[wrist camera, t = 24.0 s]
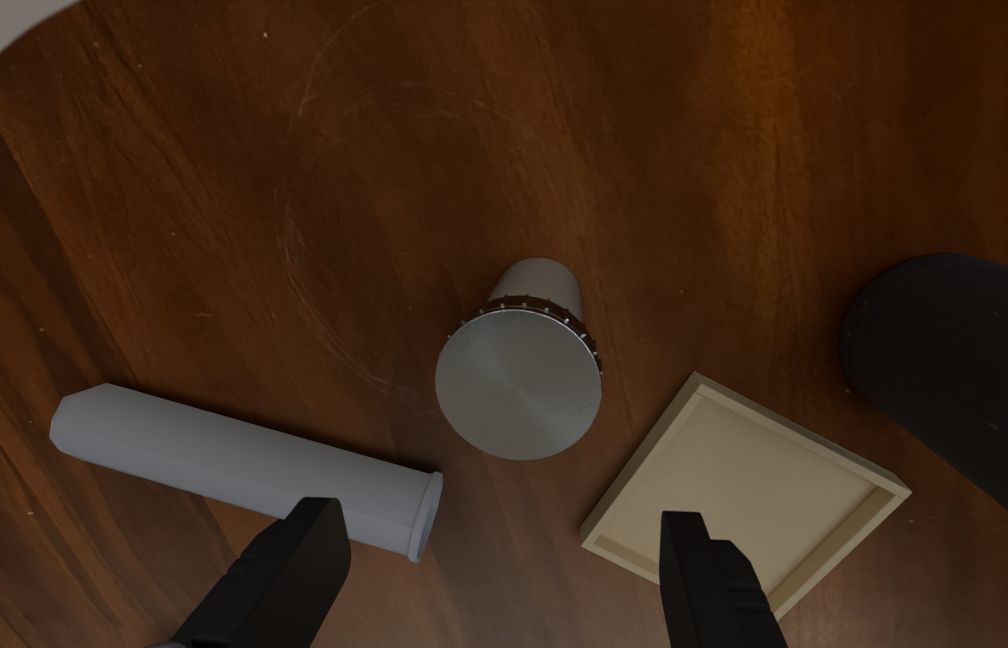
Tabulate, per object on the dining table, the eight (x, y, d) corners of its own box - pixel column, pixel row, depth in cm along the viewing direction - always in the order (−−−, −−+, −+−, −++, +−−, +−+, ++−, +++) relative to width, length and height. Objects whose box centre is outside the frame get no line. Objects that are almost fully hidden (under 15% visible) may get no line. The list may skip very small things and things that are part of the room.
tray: (693, 370, 27) (701, 383, 26) (894, 473, 28) (913, 492, 26) (579, 527, 32) (580, 546, 30) (752, 613, 32) (761, 637, 31)
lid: (485, 264, 18) (476, 276, 16) (631, 340, 18) (637, 360, 16) (422, 393, 20) (408, 415, 18) (553, 459, 20) (551, 488, 18)
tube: (48, 470, 31) (414, 579, 30) (8, 418, 28) (418, 537, 27) (116, 410, 36) (440, 502, 34) (88, 358, 32) (447, 458, 31)
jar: (518, 241, 26) (485, 293, 16) (599, 283, 26) (614, 359, 17) (480, 317, 28) (430, 404, 18) (555, 356, 28) (546, 463, 18)
